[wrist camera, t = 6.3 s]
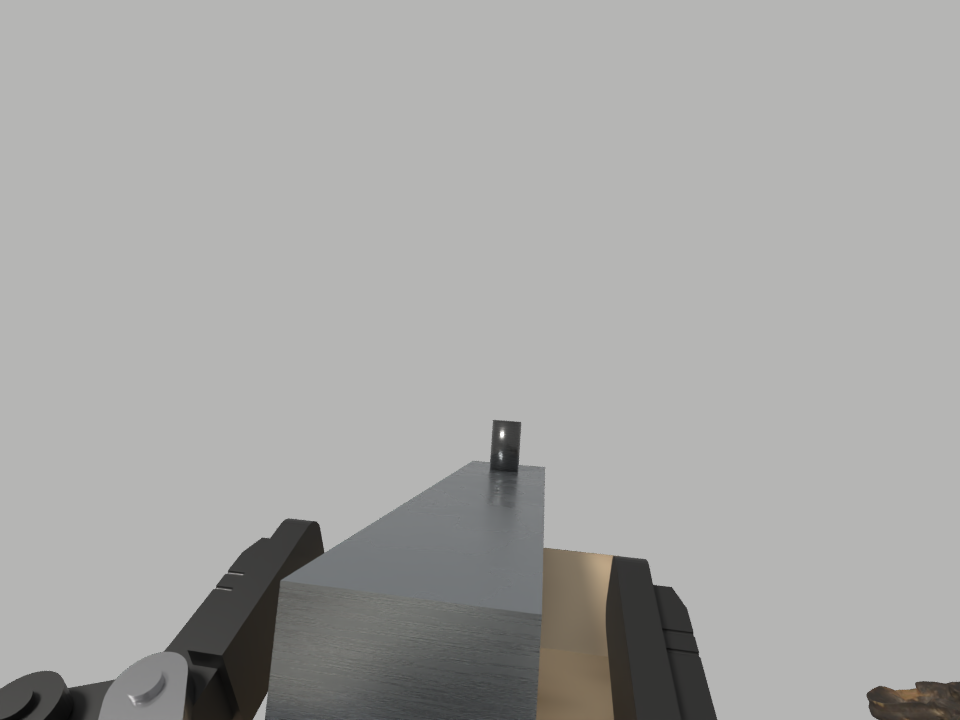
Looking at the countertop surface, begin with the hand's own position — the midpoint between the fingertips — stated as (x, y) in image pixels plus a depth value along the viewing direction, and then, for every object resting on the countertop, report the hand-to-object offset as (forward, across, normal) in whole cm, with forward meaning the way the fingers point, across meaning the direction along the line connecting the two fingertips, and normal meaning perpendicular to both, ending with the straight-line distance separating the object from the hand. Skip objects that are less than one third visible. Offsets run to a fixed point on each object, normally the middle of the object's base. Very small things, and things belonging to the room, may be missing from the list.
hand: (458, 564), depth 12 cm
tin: (+3, 0, +5) cm, 6 cm away
